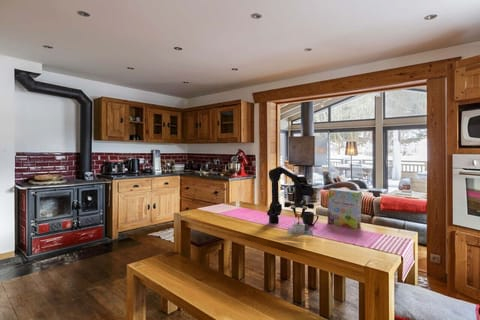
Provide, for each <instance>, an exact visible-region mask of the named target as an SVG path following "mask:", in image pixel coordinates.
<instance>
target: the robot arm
mask: <svg viewBox="0 0 480 320" xmlns="http://www.w3.org/2000/svg"><path fill="white" fill-rule="evenodd" d="M282 174H283V175H285V176H286V177H288V178H289V179H291V182H292V183H294V184H293V185H292V187H293V188H294V199H293V200H294V202H292V201H285V202H284V203H283V204H282V203H280V199H279V195H280V193H279V192H280V191H279V189H280V188H279V182H280V179H281V175H282ZM268 177H269V180H270V183H271V202H270V204H269V209H268V210H267V211H266V216H268V224H273V225H274V224H279V222H280V218H279V217H280V216H281V213H282V210H283V207H284V208H290V209H291V210H292V211H293V214H294V218H295V219H297V217H296V213H297V209H299V208H300V209H301V217H300V219H302V216H303V214H304V212H305V211H306V210H308V209H309V210H310V209H313V210H314V209H315V204H314V202H307V200H306V199H305V197H313V196H314V194H315V190H314V188H313V185H312V184H311V185H310V184H309V182H308V181H307V179H306V176H305V175H303V174H302V173H297V172H294V171H292V170H291V169H289V168H288V167H286V166H284V165H279V166H277V167H276V168H272V169H269V171H268ZM296 208H297V209H296Z"/></svg>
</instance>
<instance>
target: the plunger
mask: <svg viewBox="0 0 480 320" xmlns="http://www.w3.org/2000/svg"><path fill="white" fill-rule="evenodd" d="M301 214H302V212H301V213H300V212H296V218H297V222H298V224H299V222H300V218H301Z"/></svg>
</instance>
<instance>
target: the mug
mask: <svg viewBox="0 0 480 320" xmlns="http://www.w3.org/2000/svg"><path fill="white" fill-rule="evenodd" d="M315 217H316V220H315ZM319 217H320V216H319V215H318V214H315V213H314V212H313V211H306V210H305V212H304V214H303V216H302V223H303V224H305V225H308V227H313V226H315V224H316V223H317V222H318V220H319ZM314 220H315V221H314Z"/></svg>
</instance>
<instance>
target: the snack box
mask: <svg viewBox="0 0 480 320" xmlns="http://www.w3.org/2000/svg"><path fill="white" fill-rule="evenodd" d="M362 195H363V193H362V190H361V191H359V190H352V189H344V188H342V189H341V188H333V187H331V188H329V189H328V198H327V200H328V201H327V203H328V204H327V224H330V225H336V226H340V227H346V228H350V229H356V230H358V229H359V228H361V226H362V225H361V222H362V198H363V197H362Z"/></svg>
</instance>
